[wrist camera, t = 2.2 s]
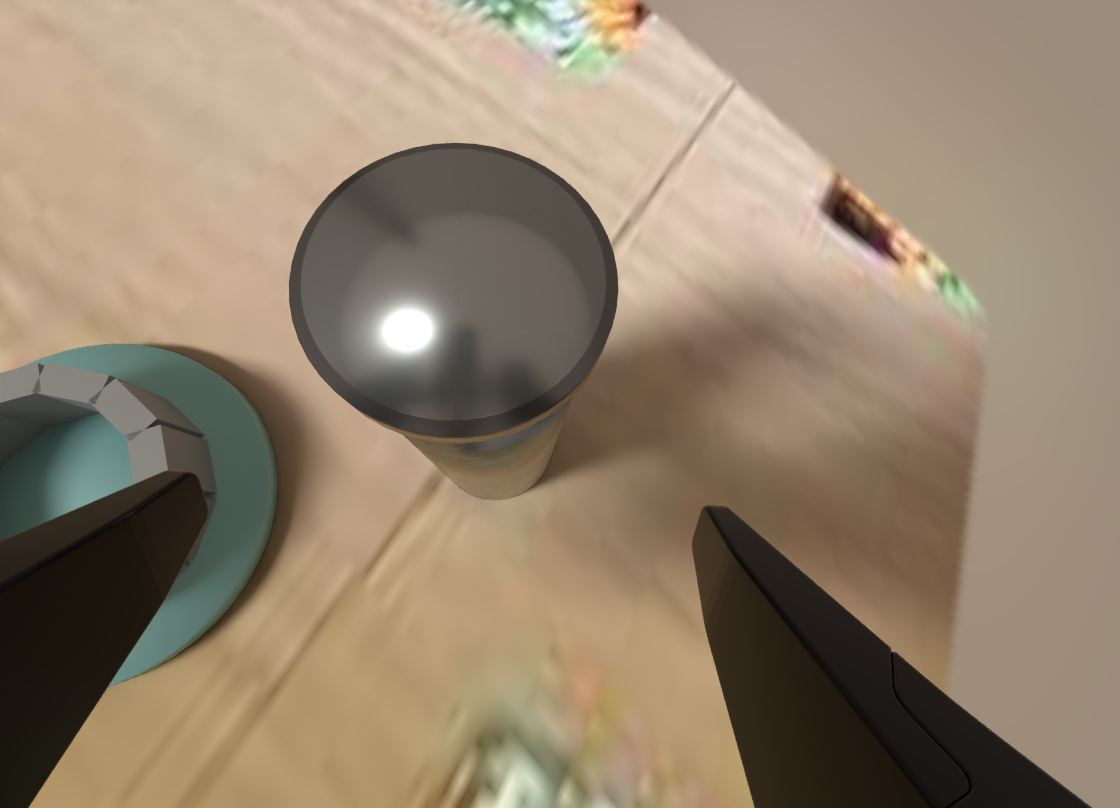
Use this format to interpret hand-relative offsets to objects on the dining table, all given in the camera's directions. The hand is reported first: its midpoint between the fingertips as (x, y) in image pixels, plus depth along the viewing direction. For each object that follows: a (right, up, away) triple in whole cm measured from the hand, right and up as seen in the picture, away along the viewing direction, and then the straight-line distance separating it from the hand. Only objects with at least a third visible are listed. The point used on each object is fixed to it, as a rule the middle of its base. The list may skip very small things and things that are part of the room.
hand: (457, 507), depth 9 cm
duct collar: (-15, -2, +9) cm, 17 cm away
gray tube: (-1, 0, +11) cm, 11 cm away
